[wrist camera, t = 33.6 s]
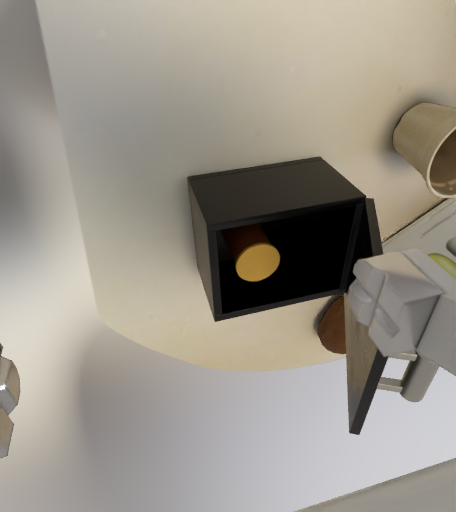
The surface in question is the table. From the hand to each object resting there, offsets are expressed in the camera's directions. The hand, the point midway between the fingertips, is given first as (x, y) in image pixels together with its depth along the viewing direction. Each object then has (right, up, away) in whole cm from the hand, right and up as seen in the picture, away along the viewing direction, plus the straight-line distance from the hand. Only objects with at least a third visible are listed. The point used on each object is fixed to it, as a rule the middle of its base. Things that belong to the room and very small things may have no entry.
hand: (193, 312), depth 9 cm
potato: (+18, -8, +53) cm, 57 cm away
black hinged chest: (+4, +6, +37) cm, 38 cm away
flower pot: (+23, +17, +36) cm, 46 cm away
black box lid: (+12, -3, +24) cm, 27 cm away
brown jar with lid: (+2, +5, +36) cm, 36 cm away
